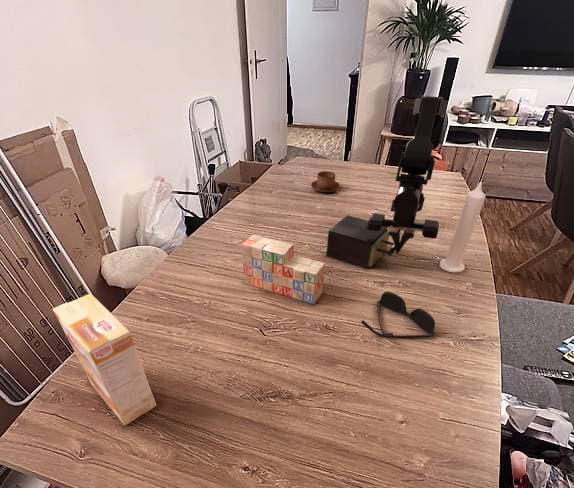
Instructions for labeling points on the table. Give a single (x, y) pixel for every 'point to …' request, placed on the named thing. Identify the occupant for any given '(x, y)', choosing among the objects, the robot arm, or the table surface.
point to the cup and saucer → (325, 182)
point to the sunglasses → (398, 305)
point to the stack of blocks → (281, 269)
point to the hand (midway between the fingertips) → (397, 253)
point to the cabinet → (352, 241)
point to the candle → (464, 231)
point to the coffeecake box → (107, 356)
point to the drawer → (380, 248)
